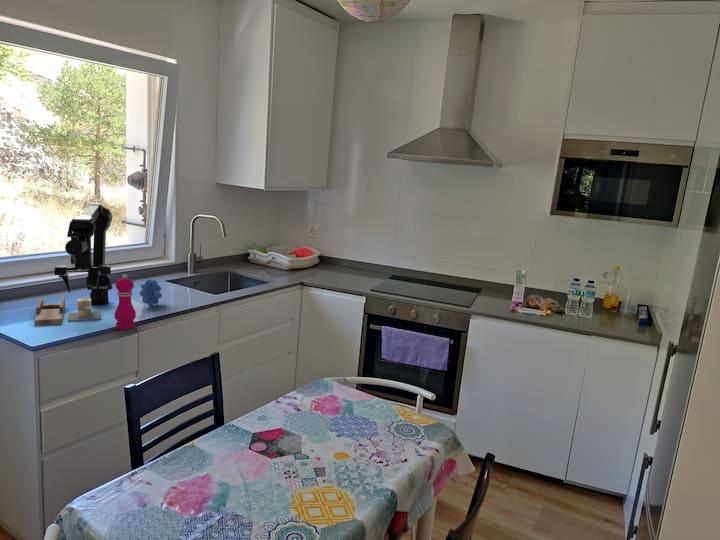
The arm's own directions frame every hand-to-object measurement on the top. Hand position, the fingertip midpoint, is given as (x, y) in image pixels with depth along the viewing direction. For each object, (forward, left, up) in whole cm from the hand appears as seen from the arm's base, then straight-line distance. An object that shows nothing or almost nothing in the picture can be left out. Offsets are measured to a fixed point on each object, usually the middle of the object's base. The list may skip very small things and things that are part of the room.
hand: (83, 291), depth 197 cm
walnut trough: (+11, -5, -10) cm, 16 cm away
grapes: (-26, -11, -10) cm, 30 cm away
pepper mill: (-14, +17, -10) cm, 24 cm away
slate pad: (0, 0, -10) cm, 10 cm away
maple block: (0, -1, -9) cm, 9 cm away
